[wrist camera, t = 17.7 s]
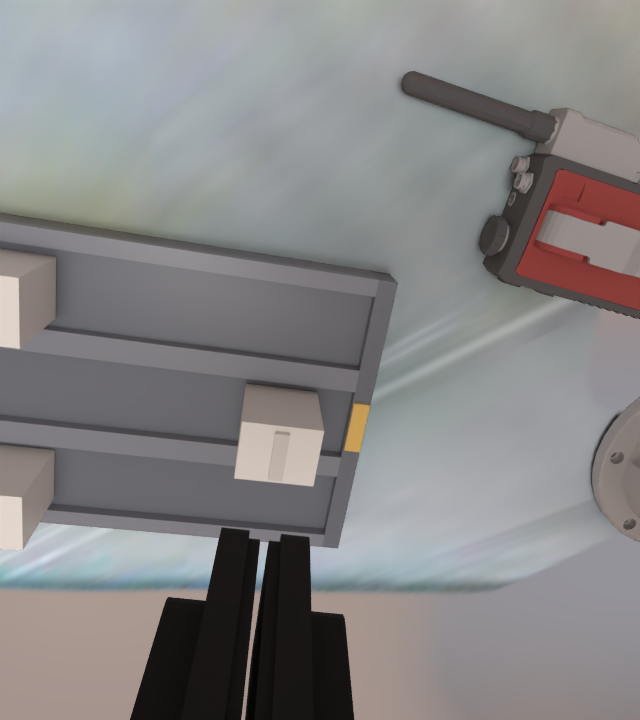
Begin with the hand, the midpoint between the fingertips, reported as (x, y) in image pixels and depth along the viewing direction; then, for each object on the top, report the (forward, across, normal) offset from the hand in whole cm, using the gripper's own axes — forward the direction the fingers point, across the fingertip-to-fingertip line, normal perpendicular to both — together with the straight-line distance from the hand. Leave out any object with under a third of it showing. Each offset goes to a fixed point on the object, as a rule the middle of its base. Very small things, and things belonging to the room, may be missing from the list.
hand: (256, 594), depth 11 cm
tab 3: (+21, 0, +6) cm, 21 cm away
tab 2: (+20, +14, +11) cm, 27 cm away
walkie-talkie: (+23, -13, -7) cm, 28 cm away
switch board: (+22, +7, +6) cm, 24 cm away
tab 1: (+20, +14, 0) cm, 24 cm away
